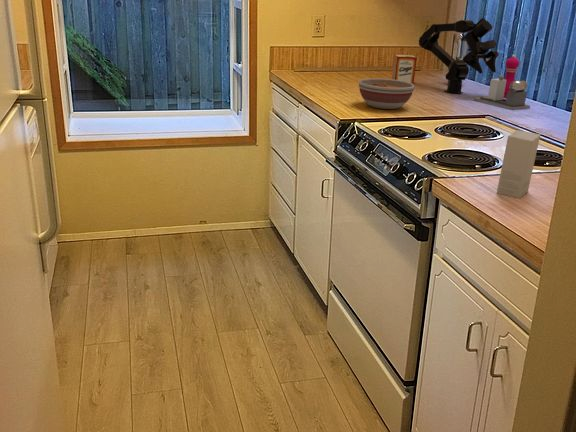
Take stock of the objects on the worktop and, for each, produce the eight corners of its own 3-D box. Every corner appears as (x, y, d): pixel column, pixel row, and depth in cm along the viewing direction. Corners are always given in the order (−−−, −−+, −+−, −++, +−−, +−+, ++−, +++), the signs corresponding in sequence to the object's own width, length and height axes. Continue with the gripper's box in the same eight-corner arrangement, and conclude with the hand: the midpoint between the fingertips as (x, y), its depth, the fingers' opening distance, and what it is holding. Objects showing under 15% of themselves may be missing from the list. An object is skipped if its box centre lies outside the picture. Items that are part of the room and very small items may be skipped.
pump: (487, 98, 282) (491, 74, 278) (495, 98, 285) (500, 74, 281) (494, 100, 279) (499, 76, 275) (503, 99, 282) (507, 75, 278)
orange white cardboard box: (393, 89, 303) (397, 55, 297) (391, 86, 309) (394, 53, 303) (412, 90, 303) (416, 56, 298) (409, 87, 310) (413, 54, 304)
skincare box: (505, 185, 167) (516, 129, 162) (530, 191, 164) (542, 134, 158) (495, 193, 161) (506, 134, 155) (521, 199, 157) (533, 139, 152)
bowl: (377, 114, 246) (380, 88, 242) (346, 102, 264) (348, 79, 261) (422, 111, 256) (426, 86, 252) (389, 100, 275) (392, 77, 271)
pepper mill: (515, 99, 295) (523, 56, 287) (499, 97, 296) (507, 54, 288) (513, 96, 301) (521, 54, 294) (497, 95, 302) (505, 53, 295)
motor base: (473, 100, 285) (477, 74, 281) (490, 98, 291) (495, 73, 287) (511, 110, 268) (516, 83, 264) (529, 108, 274) (534, 81, 270)
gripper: (472, 33, 276) (487, 63, 272) (499, 33, 286) (514, 61, 282) (456, 48, 285) (470, 77, 281) (482, 47, 295) (496, 75, 291)
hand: (488, 72), depth 284 cm, fingers open, 9 cm apart
